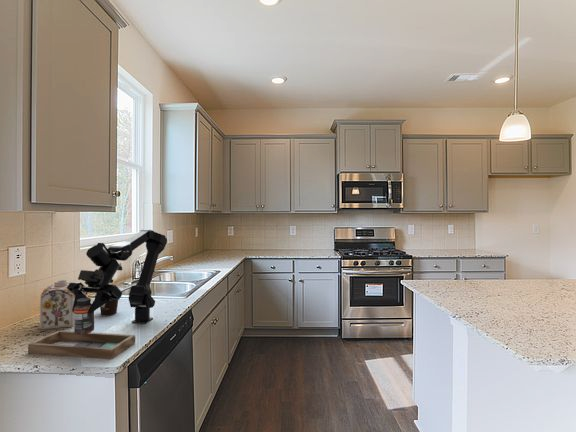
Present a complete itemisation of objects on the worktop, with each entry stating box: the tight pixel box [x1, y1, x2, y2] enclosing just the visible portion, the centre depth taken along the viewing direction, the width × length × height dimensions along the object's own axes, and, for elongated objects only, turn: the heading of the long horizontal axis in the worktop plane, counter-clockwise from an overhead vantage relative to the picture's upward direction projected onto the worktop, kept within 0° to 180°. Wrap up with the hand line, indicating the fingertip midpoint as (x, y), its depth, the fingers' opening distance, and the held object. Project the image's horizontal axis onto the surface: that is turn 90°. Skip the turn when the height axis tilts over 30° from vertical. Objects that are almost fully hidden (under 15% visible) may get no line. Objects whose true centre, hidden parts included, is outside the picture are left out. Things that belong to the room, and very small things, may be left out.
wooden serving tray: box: [27, 330, 136, 360], centre depth 116 cm, size 13×30×3 cm, turn 83°
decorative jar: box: [39, 279, 75, 330], centre depth 140 cm, size 12×12×18 cm
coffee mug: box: [94, 294, 119, 317], centre depth 155 cm, size 12×9×10 cm
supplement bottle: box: [73, 297, 95, 335], centre depth 114 cm, size 6×6×11 cm
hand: (81, 312), depth 113 cm, fingers closed on supplement bottle, 6 cm apart
